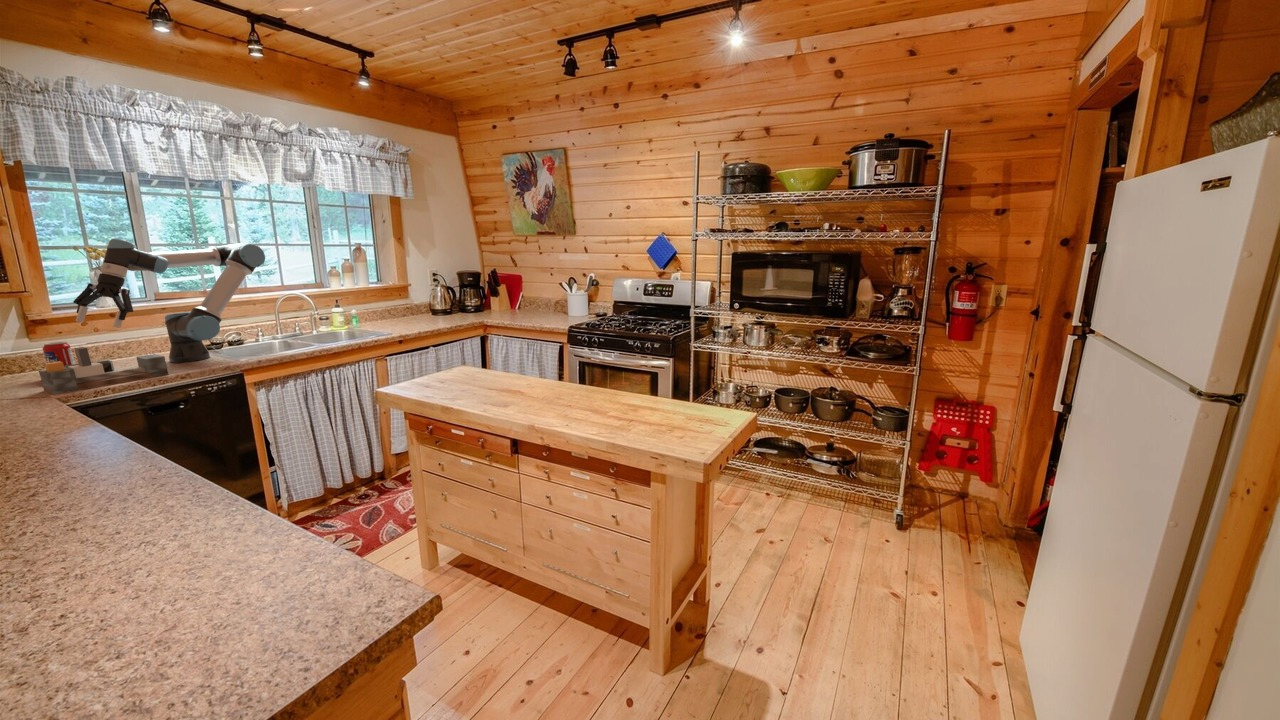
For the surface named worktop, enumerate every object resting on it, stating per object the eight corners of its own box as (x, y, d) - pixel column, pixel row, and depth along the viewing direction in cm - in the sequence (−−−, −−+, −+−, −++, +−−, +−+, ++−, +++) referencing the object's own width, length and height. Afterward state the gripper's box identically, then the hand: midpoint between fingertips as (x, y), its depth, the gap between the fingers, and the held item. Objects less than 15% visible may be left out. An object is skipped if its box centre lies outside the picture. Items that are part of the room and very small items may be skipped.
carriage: (99, 371, 207) (92, 345, 204) (104, 373, 203) (97, 346, 201) (70, 376, 200) (63, 349, 198) (76, 378, 197) (68, 350, 194)
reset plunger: (62, 372, 197) (59, 361, 196) (65, 373, 195) (62, 362, 194) (47, 374, 194) (44, 363, 193) (50, 375, 192) (47, 364, 191)
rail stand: (158, 371, 224) (154, 354, 222) (168, 374, 219) (164, 356, 217) (44, 391, 196) (38, 370, 194) (52, 394, 190) (46, 373, 188)
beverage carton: (114, 376, 219) (111, 361, 217) (48, 385, 206) (43, 369, 204) (115, 373, 224) (111, 358, 223) (50, 381, 212) (46, 366, 210)
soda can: (81, 375, 220) (72, 341, 217) (55, 379, 214) (45, 345, 210) (73, 374, 224) (64, 340, 220) (47, 378, 217) (37, 343, 214)
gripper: (70, 267, 207) (55, 317, 204) (138, 278, 210) (124, 328, 207) (87, 272, 214) (72, 321, 211) (152, 283, 218) (139, 331, 215)
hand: (98, 324), depth 209 cm, fingers open, 13 cm apart
